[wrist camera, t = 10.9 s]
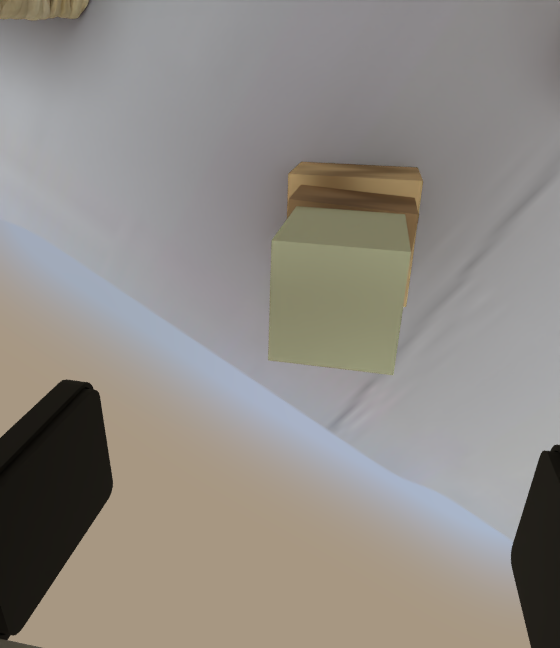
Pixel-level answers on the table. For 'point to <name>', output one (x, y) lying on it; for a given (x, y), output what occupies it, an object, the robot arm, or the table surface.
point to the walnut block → (356, 203)
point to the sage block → (338, 289)
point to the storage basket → (41, 9)
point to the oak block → (360, 183)
